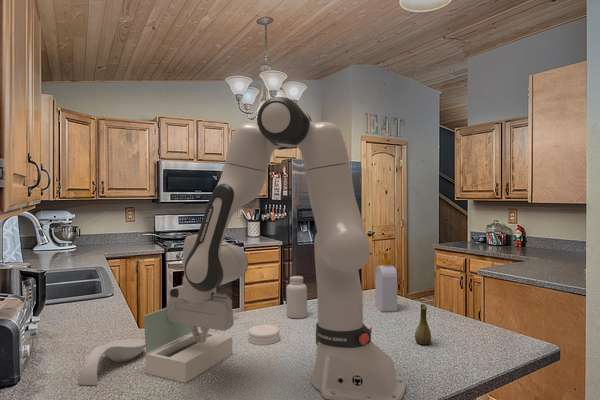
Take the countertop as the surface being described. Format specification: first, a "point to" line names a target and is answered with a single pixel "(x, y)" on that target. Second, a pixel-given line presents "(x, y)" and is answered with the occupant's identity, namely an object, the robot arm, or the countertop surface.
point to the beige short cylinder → (263, 334)
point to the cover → (162, 330)
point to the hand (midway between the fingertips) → (199, 341)
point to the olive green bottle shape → (423, 328)
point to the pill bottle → (296, 298)
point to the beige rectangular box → (188, 357)
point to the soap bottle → (386, 286)
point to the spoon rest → (112, 350)
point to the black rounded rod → (181, 349)
